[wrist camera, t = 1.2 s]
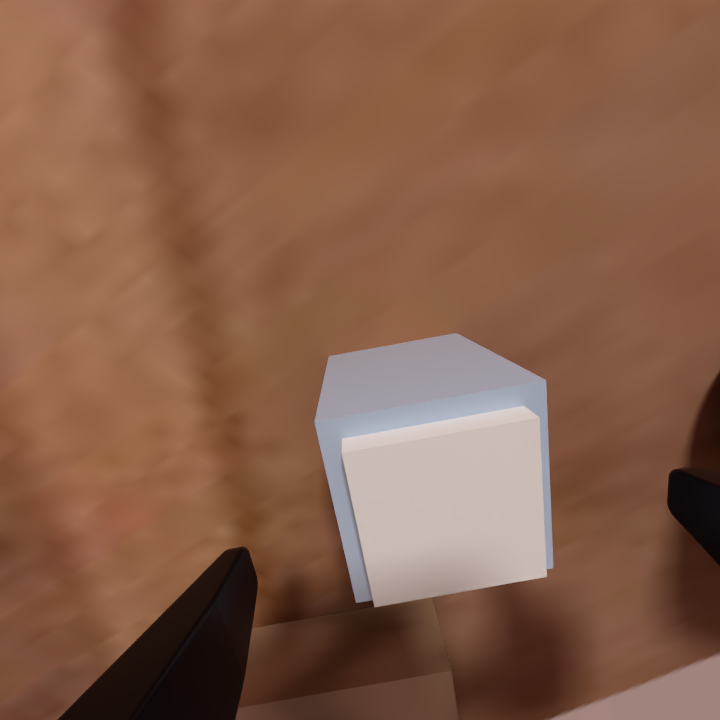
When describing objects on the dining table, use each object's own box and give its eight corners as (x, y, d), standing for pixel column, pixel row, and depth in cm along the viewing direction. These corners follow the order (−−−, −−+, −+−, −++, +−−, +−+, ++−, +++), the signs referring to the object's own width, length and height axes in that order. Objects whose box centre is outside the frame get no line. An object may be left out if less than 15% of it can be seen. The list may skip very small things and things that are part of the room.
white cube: (455, 333, 13) (563, 389, 6) (468, 447, 14) (568, 590, 8) (328, 356, 13) (311, 434, 7) (352, 468, 14) (356, 627, 8)
